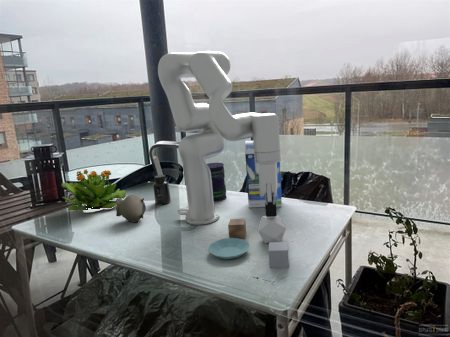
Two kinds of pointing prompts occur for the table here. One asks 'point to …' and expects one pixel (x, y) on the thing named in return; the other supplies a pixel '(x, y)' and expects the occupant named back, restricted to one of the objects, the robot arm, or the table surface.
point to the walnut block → (237, 228)
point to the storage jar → (218, 181)
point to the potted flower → (93, 191)
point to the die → (271, 229)
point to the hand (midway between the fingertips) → (271, 215)
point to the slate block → (278, 255)
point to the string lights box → (253, 179)
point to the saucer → (229, 248)
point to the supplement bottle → (161, 190)
